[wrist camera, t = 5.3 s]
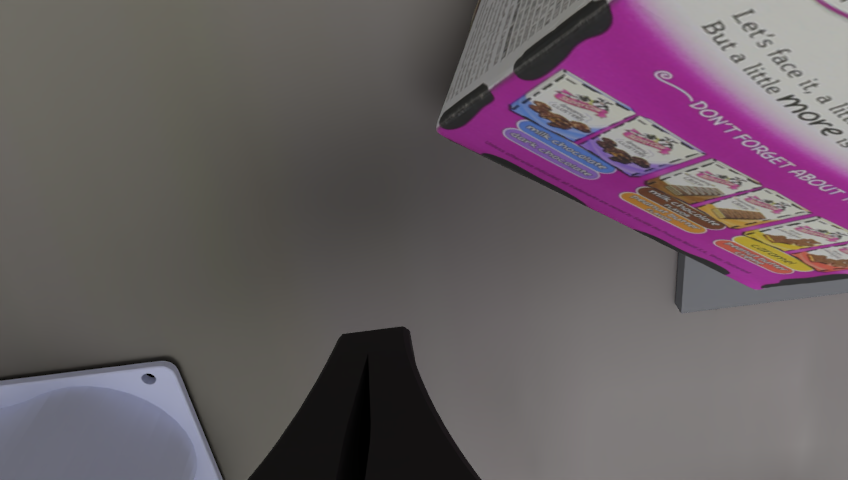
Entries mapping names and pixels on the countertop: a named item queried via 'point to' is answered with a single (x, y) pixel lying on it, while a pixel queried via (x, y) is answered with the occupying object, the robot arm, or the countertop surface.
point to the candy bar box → (674, 121)
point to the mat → (736, 289)
